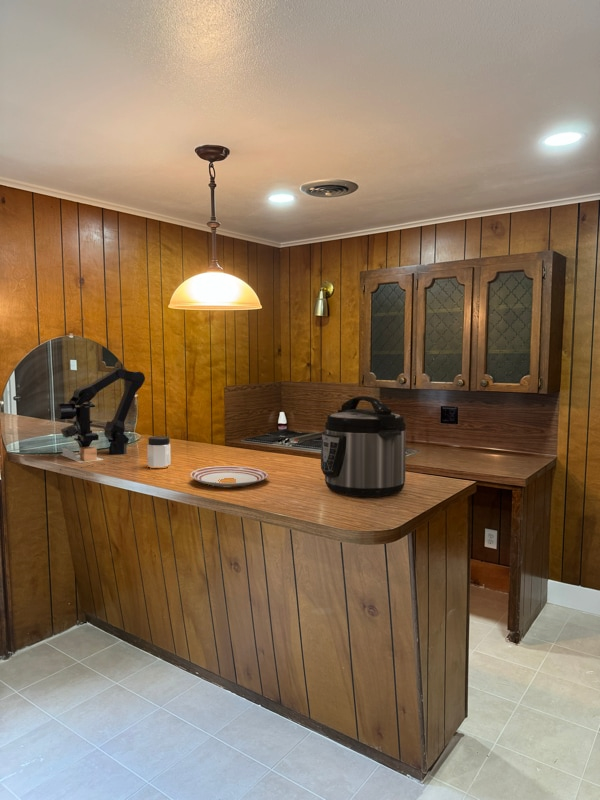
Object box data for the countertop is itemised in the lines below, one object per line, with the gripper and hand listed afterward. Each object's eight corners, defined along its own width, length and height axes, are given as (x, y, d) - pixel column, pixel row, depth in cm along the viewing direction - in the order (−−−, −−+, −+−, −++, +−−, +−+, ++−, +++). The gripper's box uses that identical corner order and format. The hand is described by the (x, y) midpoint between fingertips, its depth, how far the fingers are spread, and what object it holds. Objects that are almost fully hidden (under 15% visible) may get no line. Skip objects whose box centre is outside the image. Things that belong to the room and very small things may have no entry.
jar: (163, 469, 217) (163, 439, 216) (144, 468, 219) (144, 438, 218) (173, 465, 225) (173, 436, 225) (155, 464, 227) (155, 435, 226)
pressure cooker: (324, 478, 204) (326, 393, 202) (402, 482, 201) (405, 394, 198) (316, 498, 175) (318, 398, 172) (407, 502, 171) (410, 400, 169)
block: (80, 459, 228) (80, 447, 228) (92, 458, 231) (92, 446, 231) (84, 461, 224) (84, 449, 224) (96, 460, 228) (96, 447, 227)
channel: (59, 457, 240) (59, 448, 240) (83, 455, 247) (83, 446, 247) (79, 466, 222) (79, 456, 222) (103, 463, 229) (103, 453, 229)
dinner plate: (282, 480, 202) (282, 471, 202) (236, 495, 179) (236, 484, 179) (223, 471, 216) (223, 463, 216) (173, 484, 193) (173, 475, 193)
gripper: (55, 417, 233) (56, 454, 234) (70, 421, 219) (71, 460, 220) (82, 416, 240) (82, 451, 241) (98, 419, 226) (99, 457, 227)
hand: (83, 455), depth 232 cm, fingers closed
